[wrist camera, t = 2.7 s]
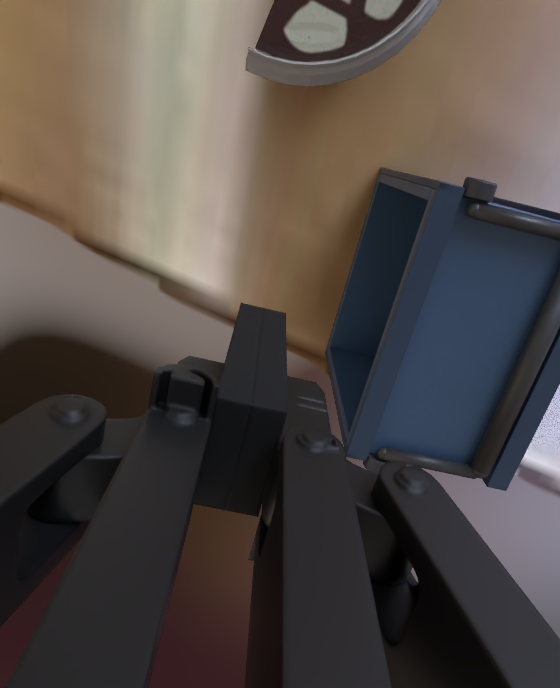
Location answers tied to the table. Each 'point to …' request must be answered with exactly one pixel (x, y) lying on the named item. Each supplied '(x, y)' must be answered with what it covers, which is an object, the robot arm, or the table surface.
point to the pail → (447, 329)
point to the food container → (333, 38)
